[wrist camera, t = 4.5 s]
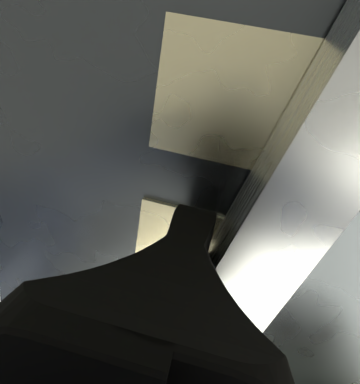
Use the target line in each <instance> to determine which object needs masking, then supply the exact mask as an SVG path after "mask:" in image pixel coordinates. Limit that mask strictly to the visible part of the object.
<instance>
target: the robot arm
mask: <svg viewBox="0 0 360 384" xmlns="http://www.w3.org/2000/svg"><path fill="white" fill-rule="evenodd" d="M216 218H217V213H216V212H212V211H208V210H204V209H198V208H195V207H191V206H187V205H183V204H179V205H178V206H177V208H176V209H175V210H174V213H173V216H172V219H171V223H170V226H169V229H168V232H167V235H166V236H164V237H163V238H161V239H160V240H158V241H157V242H155V243H153V244H151V245H150V246H148V247H146V248H144V249H142V250H140V251H138V252H136V253H134V254H132V255H129V256H126V257H124V258H121V259H118V260H116V261H113V262H110V263H108V264H104V265H101V266H98V267H94V268H91V269H87V270H83V271H79V272H74V273H70V274H65V275H59V276H53V277H47V278H41V279H35V280H28V281H24V282H23V283H21V284H20V285H19V286H18V287H17V288H16V289H14V290H13V291H12V292H11V293H10V294H8V295H7V296H6V297H5V298H4V299H3V300H2V301H1V302H0V384H295V382H294V379H293V376H292V372H291V369H290V366H289V363H288V360H287V357H286V355H285V354H284V353H283V352H282V351H281V350H280V349H279V348H278V347H277V346H276V345H275V344H273V343H272V342H271V341H270V340H269V339H268V338H267V337H266V336H265V335H264V334H263V333H262V332H261V331H260V330H259V329H258V328H257V327H256V326H255V325H254V323H253V322H252V321H251V320H250V319H249V318H248V316H247V315H246V314H245V313H244V312H243V311H242V310H241V308H240V307H239V306H238V304H237V303H236V302H235V300H234V299H233V297H232V296H231V295H230V293H229V292H228V290H227V289H226V287H225V285H224V284H223V282H222V280H221V279H220V277H219V275H218V273H217V271H216V269H215V267H214V265H213V263H212V261H211V258H210V256H209V253H208V251H209V247H210V243H211V239H212V235H213V231H214V227H215V222H216Z"/></svg>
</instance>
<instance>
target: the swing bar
mask: <svg viewBox="0 0 360 384" xmlns="http://www.w3.org/2000/svg"><path fill="white" fill-rule="evenodd" d="M359 210H360V0H347V1H346V3H345V4H344V6H343V8H342V10H341V12H340V13H339V15H338V17H337V19H336V20H335V22H334V24H333V26H332V28H331V29H330V31H329V33H328V35H327V36H326V38H325V40H324V42H323V44H322V45H321V47H320V49H319V51H318V52H317V54H316V56H315V58H314V60H313V61H312V63H311V65H310V67H309V68H308V70H307V72H306V74H305V76H304V77H303V79H302V81H301V83H300V84H299V86H298V88H297V90H296V92H295V93H294V95H293V97H292V99H291V100H290V102H289V104H288V106H287V108H286V109H285V111H284V113H283V115H282V116H281V118H280V120H279V122H278V124H277V125H276V127H275V129H274V131H273V132H272V134H271V136H270V138H269V140H268V141H267V143H266V145H265V147H264V148H263V150H262V152H261V154H260V156H259V157H258V159H257V161H256V163H255V164H254V166H253V168H252V170H251V172H250V173H249V175H248V177H247V179H246V180H245V182H244V184H243V186H242V188H241V189H240V191H239V193H238V195H237V196H236V198H235V200H234V202H233V204H232V205H231V207H230V209H229V211H228V212H227V214H226V216H225V218H224V220H223V221H222V223H221V225H220V227H219V228H218V230H217V232H216V234H215V235H214V237H213V239H212V241H211V243H210V247H209V251H208V253H209V256H210V258H211V261H212V263H213V265H214V267H215V269H216V271H217V273H218V275H219V277H220V279H221V280H222V282H223V284H224V285H225V287H226V289H227V290H228V292H229V293H230V295H231V296H232V297H233V299H234V300H235V302H236V303H237V304H238V306H239V307H240V308H241V310H242V311H243V312H244V313H245V314H246V315H247V316H248V318H249V319H250V320H251V321H252V322H253V323H254V325H255V326H256V327H257V328H258V329H259V330H260V331H261V332H262V333H263V332H264V330H265V329H266V328H267V327H268V325H269V324H270V323H271V322H272V320H273V319H274V318H275V316H276V315H277V314H278V313H279V311H280V310H281V309H282V308H283V306H284V305H285V304H286V303H287V301H288V300H289V299H290V298H291V296H292V295H293V294H294V292H295V291H296V290H297V289H298V287H299V286H300V285H301V284H302V282H303V281H304V280H305V279H306V277H307V276H308V275H309V274H310V272H311V271H312V270H313V268H314V267H315V266H316V265H317V263H318V262H319V261H320V260H321V258H322V257H323V256H324V255H325V253H326V252H327V251H328V250H329V248H330V247H331V246H332V244H333V243H334V242H335V241H336V239H337V238H338V237H339V236H340V234H341V233H342V232H343V231H344V229H345V228H346V227H347V226H348V224H349V223H350V222H351V220H352V219H353V218H354V217H355V215H356V214H357V213H358V212H359Z"/></svg>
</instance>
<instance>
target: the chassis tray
mask: <svg viewBox="0 0 360 384" xmlns="http://www.w3.org/2000/svg"><path fill="white" fill-rule="evenodd" d="M346 1H347V0H0V295H1V301H2V300H3V299H4V298H5V297H6V296H7V295H8V294H10V293H11V292H12V291H13V290H14V289H16V288H17V287H18V286H19V285H20V284H21V283H23V282H24V281H28V280H35V279H41V278H47V277H53V276H59V275H65V274H70V273H74V272H79V271H83V270H87V269H91V268H94V267H98V266H101V265H104V264H108V263H110V262H113V261H116V260H118V259H121V258H124V257H126V256H129V255H132V254H134V253H136V252H138V251H140V250H142V249H144V248H146V247H148V246H150V245H151V244H153V243H155V242H157V241H158V240H160V239H161V238H163V237H164V236H166V235H167V232H168V229H169V226H170V223H171V219H172V216H173V213H174V210H175V209H176V208H177V206H178V205H179V204H183V205H187V206H191V207H195V208H198V209H204V210H208V211H212V212H216V213H217V218H216V222H215V227H214V231H213V235H212V239H213V237H214V235H215V234H216V232H217V230H218V228H219V227H220V225H221V223H222V221H223V220H224V218H225V216H226V214H227V212H228V211H229V209H230V207H231V205H232V204H233V202H234V200H235V198H236V196H237V195H238V193H239V191H240V189H241V188H242V186H243V184H244V182H245V180H246V179H247V177H248V175H249V173H250V172H251V170H252V168H253V166H254V164H255V163H256V161H257V159H258V157H259V156H260V154H261V152H262V150H263V148H264V147H265V145H266V143H267V141H268V140H269V138H270V136H271V134H272V132H273V131H274V129H275V127H276V125H277V124H278V122H279V120H280V118H281V116H282V115H283V113H284V111H285V109H286V108H287V106H288V104H289V102H290V100H291V99H292V97H293V95H294V93H295V92H296V90H297V88H298V86H299V84H300V83H301V81H302V79H303V77H304V76H305V74H306V72H307V70H308V68H309V67H310V65H311V63H312V61H313V60H314V58H315V56H316V54H317V52H318V51H319V49H320V47H321V45H322V44H323V42H324V40H325V38H326V36H327V35H328V33H329V31H330V29H331V28H332V26H333V24H334V22H335V20H336V19H337V17H338V15H339V13H340V12H341V10H342V8H343V6H344V4H345V3H346ZM212 239H211V241H212ZM263 334H264V335H265V336H266V337H267V338H268V339H269V340H270V341H271V342H272V343H273V344H275V345H276V346H277V347H278V348H279V349H280V350H281V351H282V352H283V353H284V354H285V355H286V357H287V360H288V363H289V366H290V369H291V372H292V376H293V379H294V382H295V384H360V210H359V212H358V213H357V214H356V215H355V217H354V218H353V219H352V220H351V222H350V223H349V224H348V226H347V227H346V228H345V229H344V231H343V232H342V233H341V234H340V236H339V237H338V238H337V239H336V241H335V242H334V243H333V244H332V246H331V247H330V248H329V250H328V251H327V252H326V253H325V255H324V256H323V257H322V258H321V260H320V261H319V262H318V263H317V265H316V266H315V267H314V268H313V270H312V271H311V272H310V274H309V275H308V276H307V277H306V279H305V280H304V281H303V282H302V284H301V285H300V286H299V287H298V289H297V290H296V291H295V292H294V294H293V295H292V296H291V298H290V299H289V300H288V301H287V303H286V304H285V305H284V306H283V308H282V309H281V310H280V311H279V313H278V314H277V315H276V316H275V318H274V319H273V320H272V322H271V323H270V324H269V325H268V327H267V328H266V329H265V330H264V332H263Z"/></svg>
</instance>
